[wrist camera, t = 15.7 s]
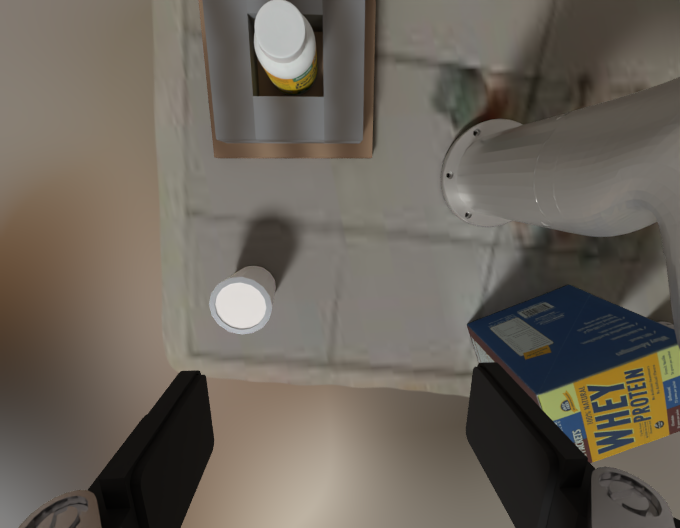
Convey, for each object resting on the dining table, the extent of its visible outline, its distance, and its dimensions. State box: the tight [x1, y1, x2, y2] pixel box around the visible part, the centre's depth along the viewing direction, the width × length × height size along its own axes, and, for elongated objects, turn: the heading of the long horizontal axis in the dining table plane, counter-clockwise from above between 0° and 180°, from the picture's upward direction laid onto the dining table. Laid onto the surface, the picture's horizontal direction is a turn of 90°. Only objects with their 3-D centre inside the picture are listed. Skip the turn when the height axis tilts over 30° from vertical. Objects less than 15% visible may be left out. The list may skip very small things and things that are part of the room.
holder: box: [199, 0, 376, 158], centre depth 33 cm, size 18×18×5 cm
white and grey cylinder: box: [209, 265, 276, 334], centre depth 38 cm, size 7×7×7 cm
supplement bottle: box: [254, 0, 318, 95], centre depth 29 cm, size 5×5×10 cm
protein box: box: [467, 285, 680, 463], centre depth 37 cm, size 10×15×16 cm
